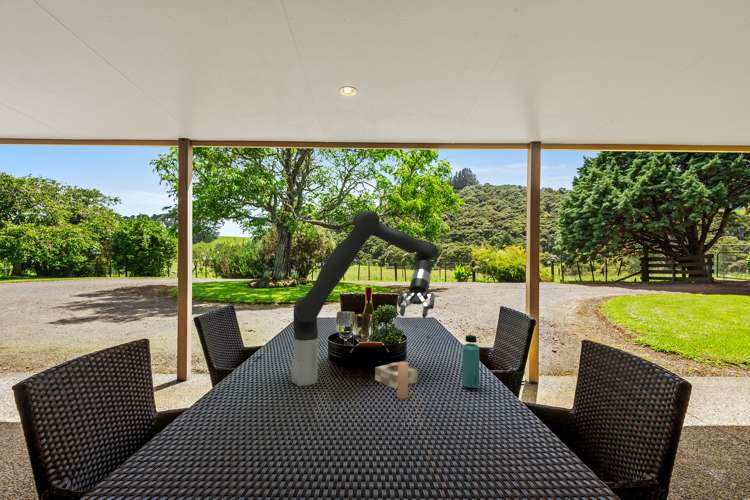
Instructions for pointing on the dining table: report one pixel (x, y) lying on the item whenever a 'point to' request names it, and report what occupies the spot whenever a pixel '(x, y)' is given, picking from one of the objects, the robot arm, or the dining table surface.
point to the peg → (402, 380)
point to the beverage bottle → (470, 363)
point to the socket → (394, 375)
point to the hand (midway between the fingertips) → (412, 316)
